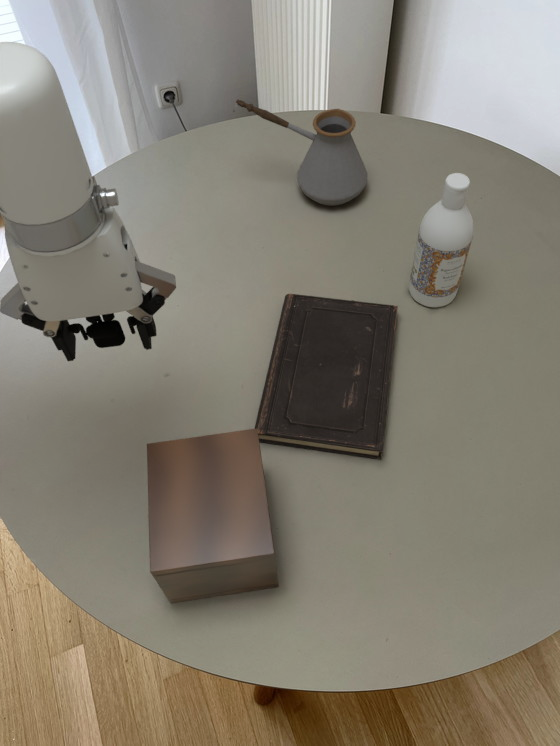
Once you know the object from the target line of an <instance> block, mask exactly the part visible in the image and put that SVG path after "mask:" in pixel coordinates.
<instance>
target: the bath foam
mask: <svg viewBox="0 0 560 746" xmlns="http://www.w3.org/2000/svg"><path fill="white" fill-rule="evenodd" d="M470 185H471V180H470V178H469V177H468V176H467V175H466V174H464V173H462V172H461V173H460V172H454V173H450V174H449V175H447V176H446V177H445V181H444V186H443V190H442V193H441V199H440V200H439V201H437V202H436V203H435V204H434V205H432V206H431V207H430V208H429V209H428V210H427V211H426V213H425V214H424V216H423V217H422V220H421V222H420V225H419V228H418V233H417V238H416V244H415V250H414V254H413V260H412V265H411V270H410V277H409V282H408V291H409V294H410V296H411V297H412V299H413V300H414V301H415V302H417V303H418V304H420V305H422V306H424V307H428V308H442V307H444V306H447V305H450V303H452V302H453V301H454V300H455V298H456V296H457V294H458V291H459V287H460V284H461V280H462V277H463V273H464V269H465V266H466V263H467V259H468V255H469V252H470V249H471V245H472V242H473V237H474V220H473V217H472V214H471V211H470V210H469V208H468V206H467V205H466V201H467V197H468V193H469V189H470Z"/></svg>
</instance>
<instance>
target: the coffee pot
mask: <svg viewBox="0 0 560 746" xmlns="http://www.w3.org/2000/svg"><path fill="white" fill-rule="evenodd" d="M238 106H239V107H240V108H244V109H247V112H249V113H250V112H252V113H254V114H255V115H257V116H259V118H261V119H263V120H265V121H268V122H270V123H273V124H276V125H278V126H280V127H282V128H286V129H289V130H291V131H292V132H295V133H297V134H299V135H300V136H303V137H305V138H307V139H309V140H311V141H312V142H311V144H310V145H309V148H308V150H307V152H306V154H305V155H304V158H303V160H302V162H301V163H300V166H299V168H298V170H297V175H296V180H297V184H298V186H299V188H300V190H301V191H302V192H303V194H304V195H305V196H306V197H308V198H309V199H311V200H312V201H314V202H316V203H318V204H320V205H324V206H331V207H332V206H333V207H334V206H335V207H336V206H341V205H344V204H346V203H348V202H350V201H352V200H353V199H354V198H357V197H358V196H359V195H360V194H361V193H362V192H363V190H364V189H365V187H366V185H367V183H368V175H369V174H368V171H367V169H366V166H365V164H364V161H363V159H362V157H361V155H360V152H359V150H358V147H357V145H356V143H355V141H354V138H353V136H352V132H353V131H354V129H355V128H356V122H357V121H356V119H355V117H354V116H353V115H352V114H350V112H347V111H345V110H343V109H341V108H333V109H332V108H331V109H328V110H324V111H321V112H319V113H318V114H316V115H315V116H314V118H313V120H312V127H313V130H315V132H316V134H315V133H312V131H311V132H310V131H308V130H307V129H304V128H302V127H299V126H296V125H294V124H293V123H290V122H288V121H287V120H285V119H284V118H282V117H279V116H277V115H276V114H274V113H272V112H270V111H268V110H266V109H263V108H259V107H256V106H254V104H253V103H247V102H246V101H244V100H241V99H236V101H235V105H234V108H233V111H232V112H233V113H235V111H236V110H237V107H238Z"/></svg>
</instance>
